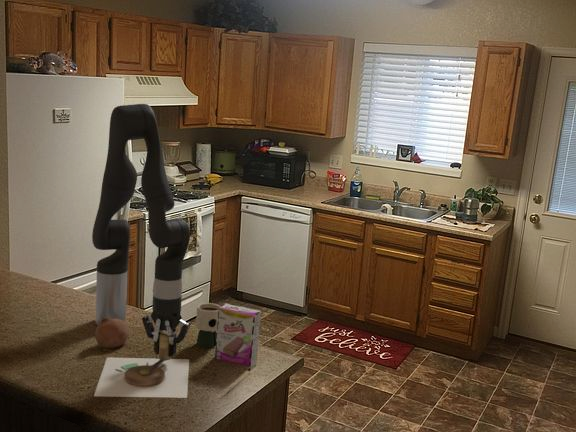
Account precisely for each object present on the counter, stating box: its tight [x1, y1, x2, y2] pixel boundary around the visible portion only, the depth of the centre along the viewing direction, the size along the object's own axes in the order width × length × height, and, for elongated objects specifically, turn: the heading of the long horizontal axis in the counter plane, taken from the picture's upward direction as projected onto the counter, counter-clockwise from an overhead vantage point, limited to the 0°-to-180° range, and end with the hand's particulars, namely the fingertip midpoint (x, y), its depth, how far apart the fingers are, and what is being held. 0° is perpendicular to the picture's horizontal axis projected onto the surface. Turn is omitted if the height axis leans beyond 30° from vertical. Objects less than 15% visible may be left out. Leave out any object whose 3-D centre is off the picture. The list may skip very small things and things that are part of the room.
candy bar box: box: [214, 303, 262, 371], centre depth 179 cm, size 11×5×16 cm, turn 71°
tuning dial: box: [125, 330, 172, 387], centre depth 166 cm, size 17×10×8 cm, turn 161°
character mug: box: [194, 302, 222, 349], centre depth 188 cm, size 11×7×13 cm, turn 147°
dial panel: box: [93, 357, 190, 399], centre depth 165 cm, size 22×22×2 cm
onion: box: [94, 317, 130, 349], centre depth 183 cm, size 10×9×10 cm
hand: (164, 354), depth 173 cm, fingers closed on tuning dial, 3 cm apart
